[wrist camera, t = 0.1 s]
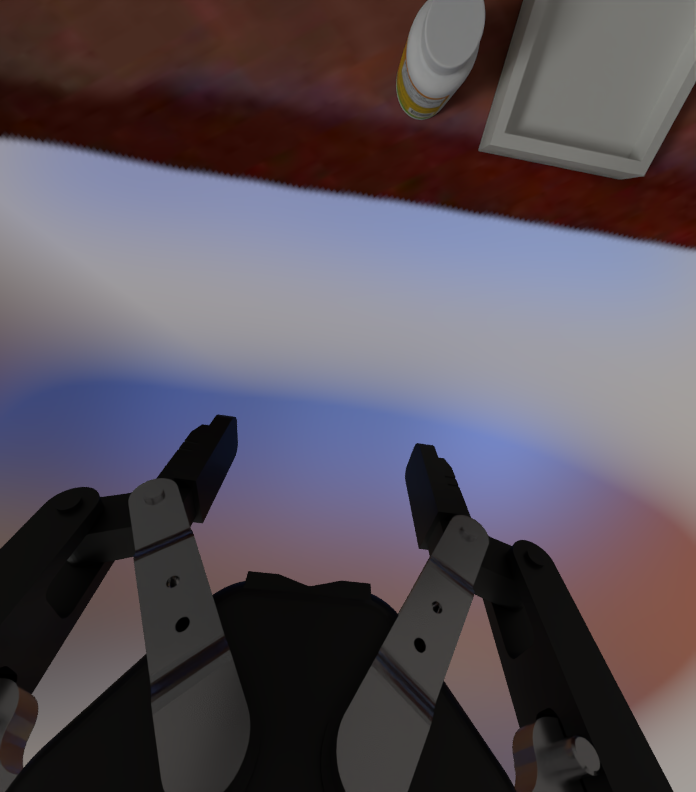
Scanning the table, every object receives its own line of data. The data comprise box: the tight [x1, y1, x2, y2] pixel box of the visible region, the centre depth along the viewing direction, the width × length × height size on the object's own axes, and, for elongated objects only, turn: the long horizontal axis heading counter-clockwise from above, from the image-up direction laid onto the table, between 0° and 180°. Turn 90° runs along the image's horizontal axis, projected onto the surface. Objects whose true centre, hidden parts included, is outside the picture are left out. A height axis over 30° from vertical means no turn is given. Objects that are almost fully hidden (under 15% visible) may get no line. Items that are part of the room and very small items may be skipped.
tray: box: [478, 0, 696, 179], centre depth 25 cm, size 16×16×3 cm
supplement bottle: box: [396, 0, 485, 120], centre depth 23 cm, size 5×5×10 cm
